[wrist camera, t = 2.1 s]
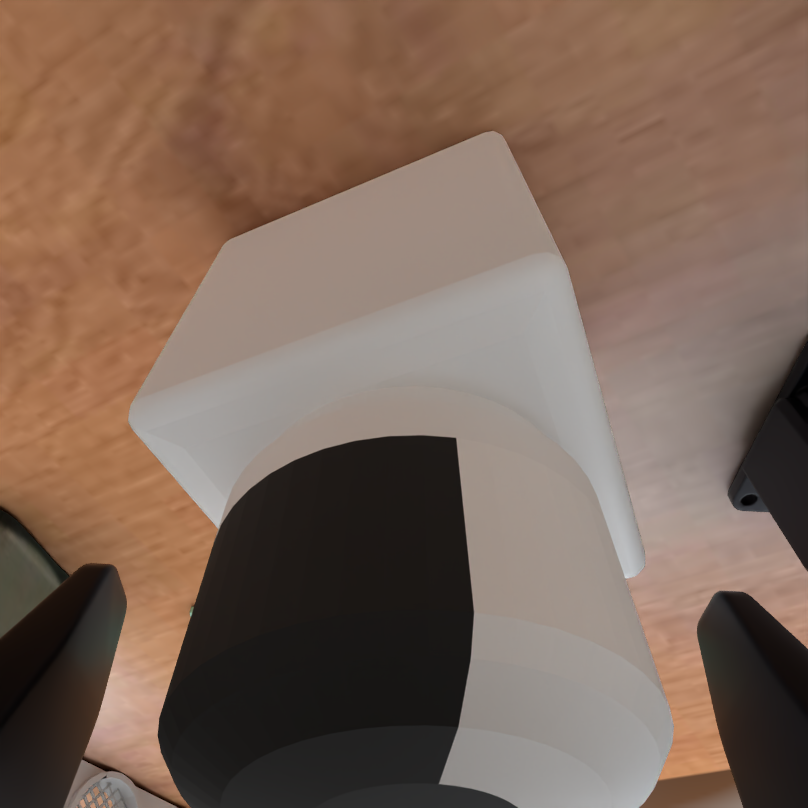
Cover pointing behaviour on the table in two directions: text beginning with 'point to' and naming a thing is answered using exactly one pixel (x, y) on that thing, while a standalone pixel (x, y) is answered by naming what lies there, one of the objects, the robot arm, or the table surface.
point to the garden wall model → (109, 790)
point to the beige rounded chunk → (23, 573)
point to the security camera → (403, 513)
